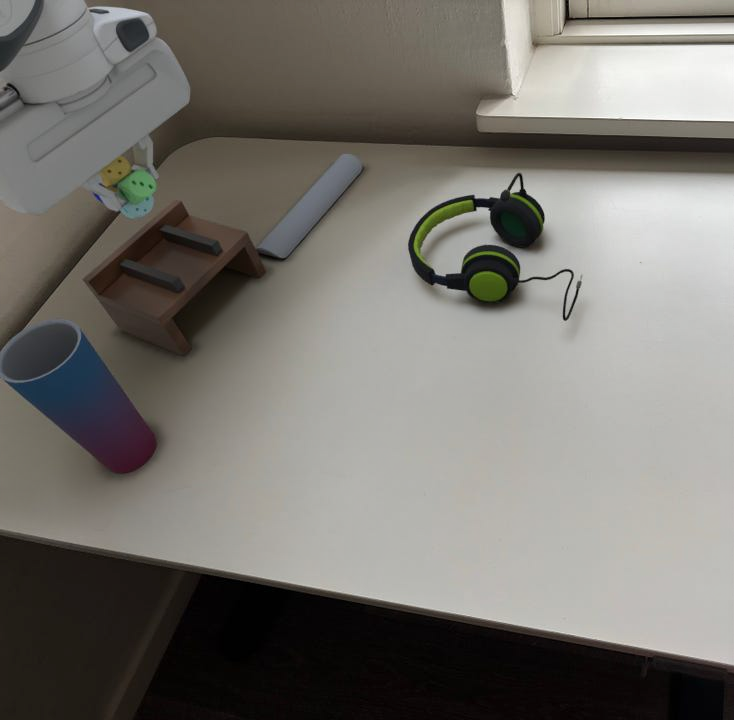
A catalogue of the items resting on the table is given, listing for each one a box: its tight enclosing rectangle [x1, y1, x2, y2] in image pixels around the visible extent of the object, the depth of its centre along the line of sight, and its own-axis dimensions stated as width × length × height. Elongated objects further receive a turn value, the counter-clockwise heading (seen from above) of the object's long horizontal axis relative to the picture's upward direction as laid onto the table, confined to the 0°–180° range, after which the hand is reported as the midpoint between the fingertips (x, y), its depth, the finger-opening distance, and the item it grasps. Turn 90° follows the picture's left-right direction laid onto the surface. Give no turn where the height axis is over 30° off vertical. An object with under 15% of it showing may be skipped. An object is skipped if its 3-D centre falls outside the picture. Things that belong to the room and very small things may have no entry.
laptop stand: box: [81, 199, 267, 357], centre depth 79 cm, size 14×10×8 cm
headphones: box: [407, 172, 584, 322], centre depth 75 cm, size 16×10×20 cm
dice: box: [91, 154, 158, 220], centre depth 70 cm, size 8×3×6 cm, turn 62°
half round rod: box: [255, 153, 363, 259], centre depth 90 cm, size 4×20×2 cm, turn 155°
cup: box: [0, 318, 157, 474], centre depth 63 cm, size 7×7×15 cm
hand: (134, 193), depth 70 cm, fingers closed on dice, 3 cm apart
